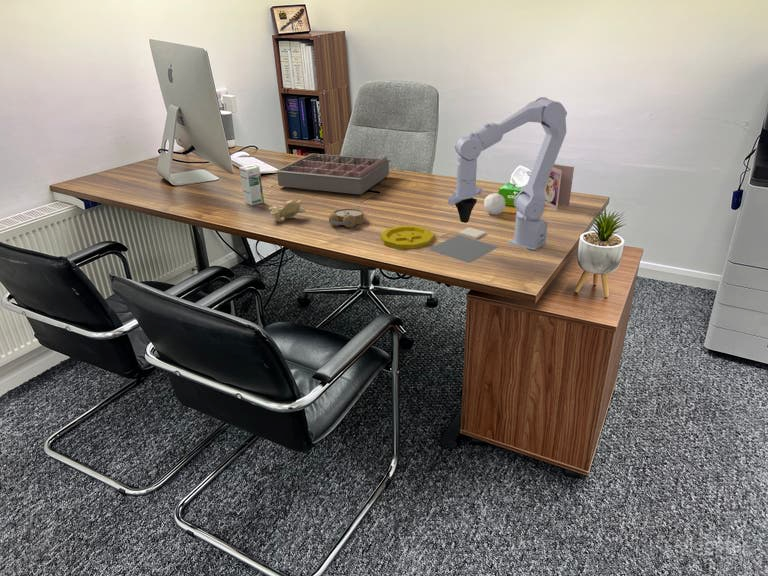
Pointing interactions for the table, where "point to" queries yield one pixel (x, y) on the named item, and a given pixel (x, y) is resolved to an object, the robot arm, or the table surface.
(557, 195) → the greeting card
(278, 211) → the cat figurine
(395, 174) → the table surface
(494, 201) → the geometric ball
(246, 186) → the syrup box
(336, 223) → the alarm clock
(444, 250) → the mat
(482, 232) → the tile
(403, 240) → the decorative disc
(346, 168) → the organizer tray
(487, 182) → the table surface
